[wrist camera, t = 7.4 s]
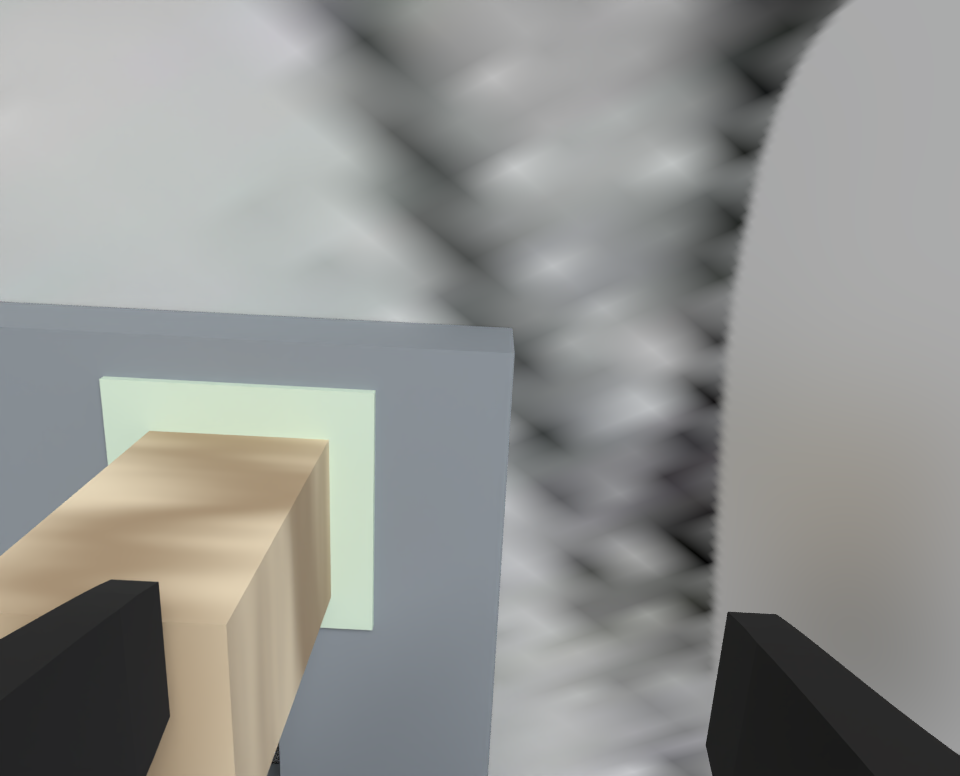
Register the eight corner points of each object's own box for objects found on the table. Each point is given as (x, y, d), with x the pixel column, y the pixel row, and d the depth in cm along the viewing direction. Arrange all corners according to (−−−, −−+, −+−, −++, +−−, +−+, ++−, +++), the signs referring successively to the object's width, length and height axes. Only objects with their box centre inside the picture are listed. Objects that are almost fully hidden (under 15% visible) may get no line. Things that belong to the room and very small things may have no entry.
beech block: (329, 439, 18) (226, 624, 11) (331, 596, 19) (239, 851, 12) (149, 430, 18) (-65, 609, 11) (163, 588, 19) (-22, 838, 12)
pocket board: (512, 327, 19) (515, 355, 17) (480, 838, 24) (478, 918, 22) (-58, 298, 19) (-139, 322, 17) (24, 813, 24) (-29, 890, 22)
